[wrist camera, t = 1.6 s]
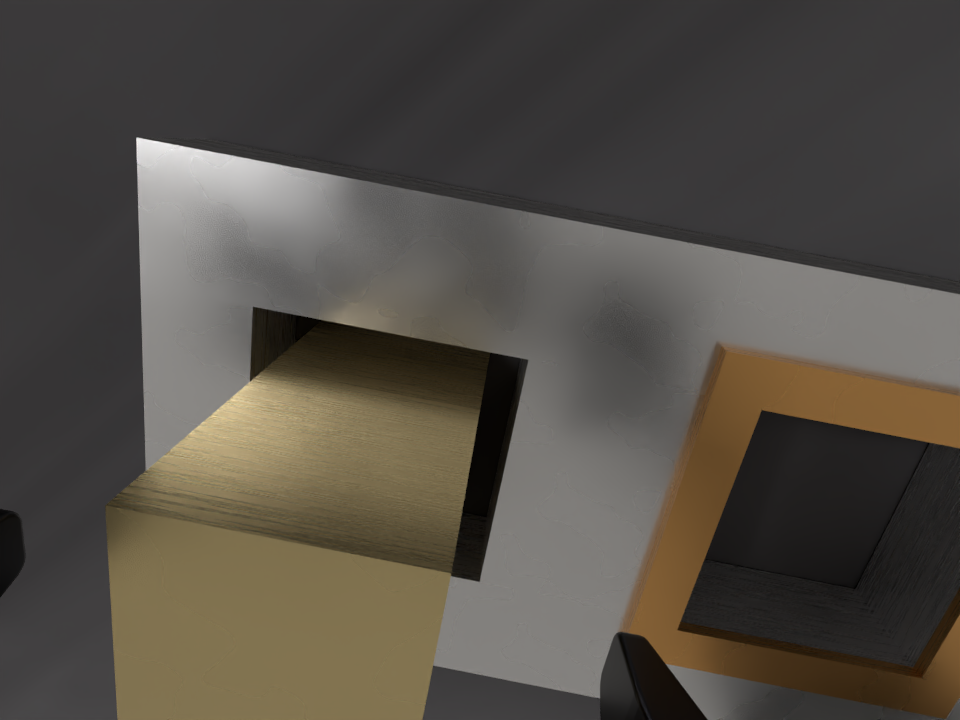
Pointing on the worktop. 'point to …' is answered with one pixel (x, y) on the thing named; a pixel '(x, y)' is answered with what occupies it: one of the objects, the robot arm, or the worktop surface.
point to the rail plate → (593, 415)
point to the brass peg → (299, 538)
